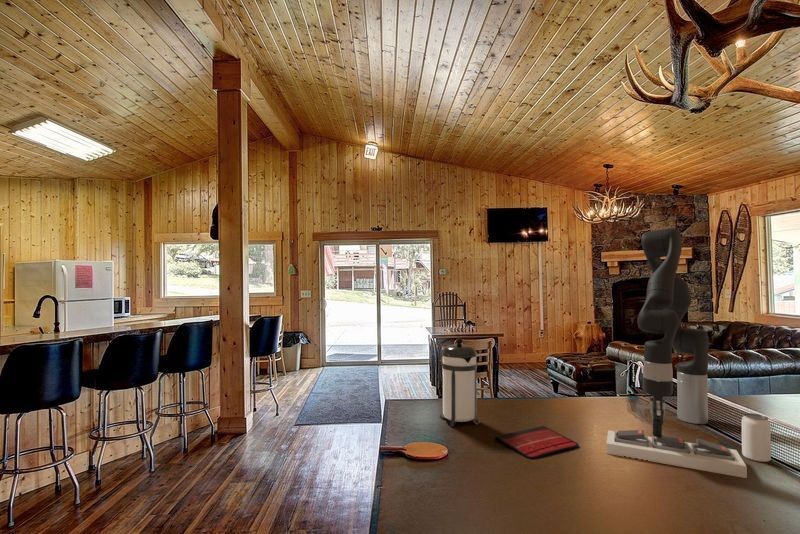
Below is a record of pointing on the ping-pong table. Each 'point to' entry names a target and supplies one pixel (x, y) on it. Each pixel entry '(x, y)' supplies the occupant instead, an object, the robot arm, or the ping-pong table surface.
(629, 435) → the rocker
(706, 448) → the rocker
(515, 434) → the binder
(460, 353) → the coffee press
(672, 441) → the rocker
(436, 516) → the ping-pong table surface
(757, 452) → the can
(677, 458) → the switch panel
